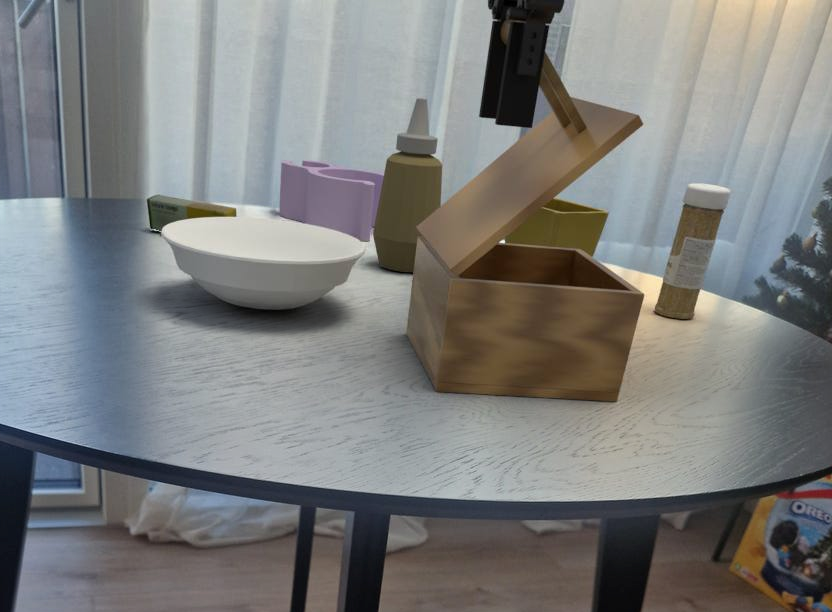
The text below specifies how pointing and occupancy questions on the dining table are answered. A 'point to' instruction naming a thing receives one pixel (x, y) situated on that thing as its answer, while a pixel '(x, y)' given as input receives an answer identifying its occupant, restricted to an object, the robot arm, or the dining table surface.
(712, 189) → the sprinkles bottle
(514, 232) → the flower pot
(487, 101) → the robot arm
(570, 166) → the chest lid
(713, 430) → the dining table surface
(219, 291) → the bowl
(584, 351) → the chest
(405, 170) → the squeeze bottle
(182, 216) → the medication box
